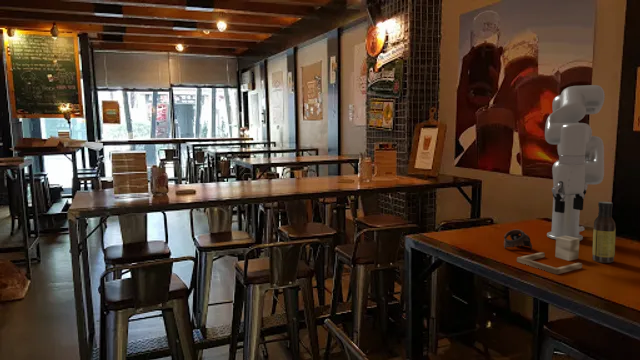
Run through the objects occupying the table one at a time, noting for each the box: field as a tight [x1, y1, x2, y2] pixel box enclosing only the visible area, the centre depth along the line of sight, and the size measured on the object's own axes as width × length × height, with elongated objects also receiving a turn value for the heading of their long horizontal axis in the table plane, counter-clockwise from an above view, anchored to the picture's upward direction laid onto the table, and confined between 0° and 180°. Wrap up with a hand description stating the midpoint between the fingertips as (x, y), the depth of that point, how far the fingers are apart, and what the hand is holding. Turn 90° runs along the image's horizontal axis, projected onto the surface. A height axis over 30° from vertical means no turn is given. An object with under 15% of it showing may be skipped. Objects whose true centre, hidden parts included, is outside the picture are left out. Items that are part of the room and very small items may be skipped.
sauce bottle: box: [591, 201, 617, 264], centre depth 147 cm, size 6×6×20 cm
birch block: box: [554, 236, 580, 261], centre depth 151 cm, size 5×5×7 cm
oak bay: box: [516, 251, 583, 275], centre depth 144 cm, size 12×14×2 cm
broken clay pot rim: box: [503, 228, 533, 251], centre depth 164 cm, size 12×10×8 cm
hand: (568, 211), depth 150 cm, fingers open, 9 cm apart
